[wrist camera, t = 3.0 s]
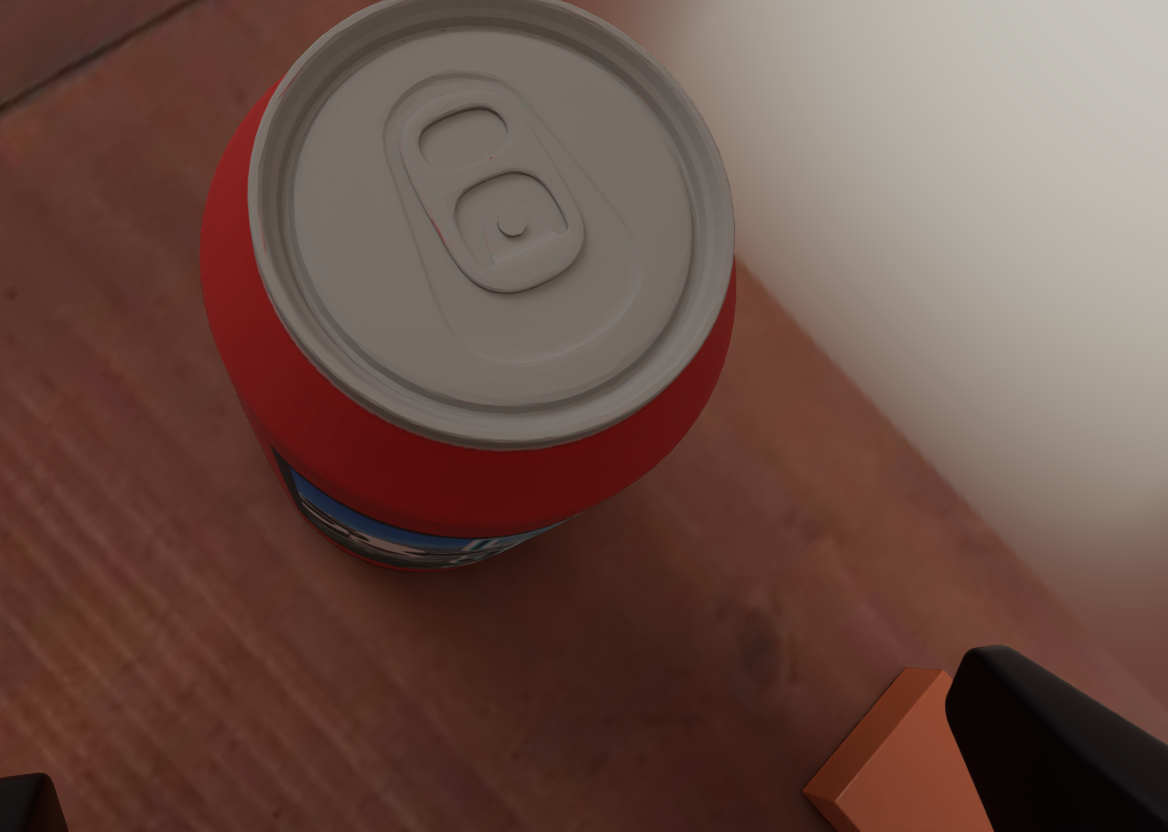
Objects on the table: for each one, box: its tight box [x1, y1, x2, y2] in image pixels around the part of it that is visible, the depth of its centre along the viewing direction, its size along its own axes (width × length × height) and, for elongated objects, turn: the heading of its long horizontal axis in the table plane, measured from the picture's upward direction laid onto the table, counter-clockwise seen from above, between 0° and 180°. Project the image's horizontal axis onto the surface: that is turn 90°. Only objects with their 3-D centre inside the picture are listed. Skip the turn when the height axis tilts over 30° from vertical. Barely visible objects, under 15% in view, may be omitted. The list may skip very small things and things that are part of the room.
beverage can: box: [200, 0, 736, 572], centre depth 16 cm, size 7×7×12 cm
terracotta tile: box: [802, 668, 994, 832], centre depth 22 cm, size 4×4×2 cm
